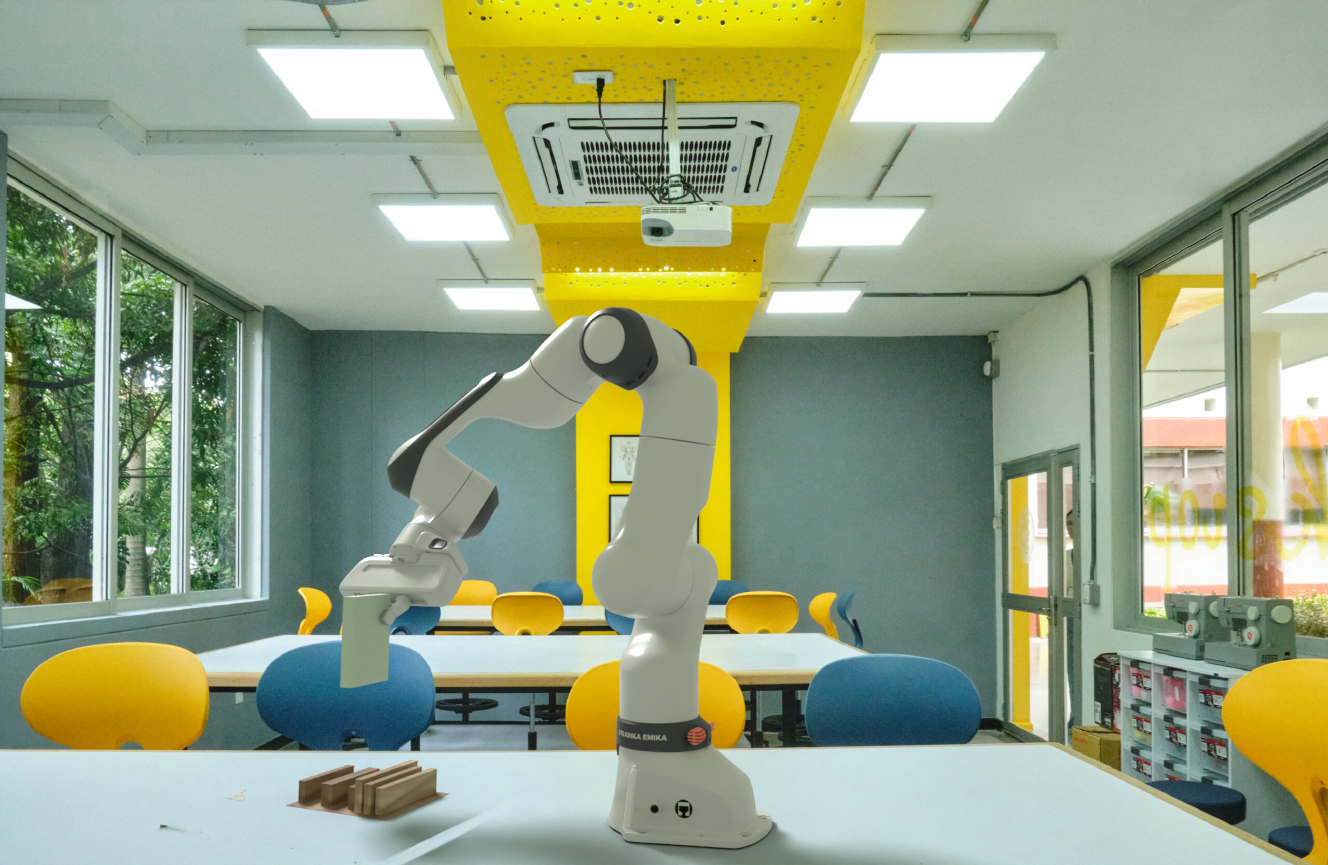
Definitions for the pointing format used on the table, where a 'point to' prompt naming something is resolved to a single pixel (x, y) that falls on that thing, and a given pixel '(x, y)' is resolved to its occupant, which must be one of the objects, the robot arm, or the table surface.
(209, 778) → the table surface
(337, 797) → the offcut rack
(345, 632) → the pale green flat block
